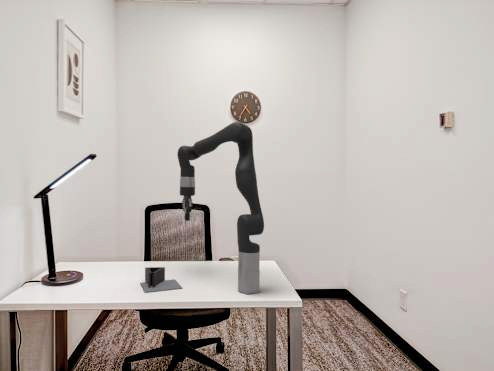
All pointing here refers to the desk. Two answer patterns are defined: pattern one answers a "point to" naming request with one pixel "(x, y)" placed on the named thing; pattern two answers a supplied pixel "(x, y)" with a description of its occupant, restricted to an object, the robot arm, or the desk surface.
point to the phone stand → (154, 275)
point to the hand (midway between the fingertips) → (187, 220)
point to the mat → (162, 286)
